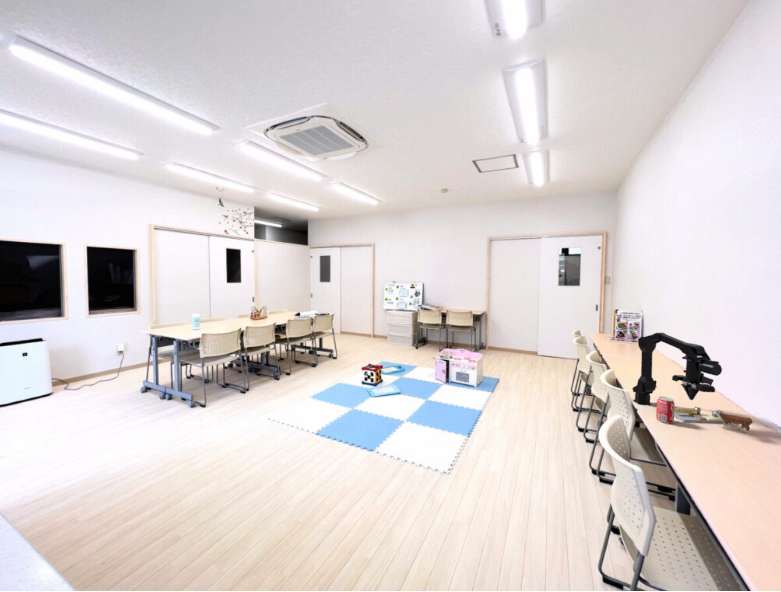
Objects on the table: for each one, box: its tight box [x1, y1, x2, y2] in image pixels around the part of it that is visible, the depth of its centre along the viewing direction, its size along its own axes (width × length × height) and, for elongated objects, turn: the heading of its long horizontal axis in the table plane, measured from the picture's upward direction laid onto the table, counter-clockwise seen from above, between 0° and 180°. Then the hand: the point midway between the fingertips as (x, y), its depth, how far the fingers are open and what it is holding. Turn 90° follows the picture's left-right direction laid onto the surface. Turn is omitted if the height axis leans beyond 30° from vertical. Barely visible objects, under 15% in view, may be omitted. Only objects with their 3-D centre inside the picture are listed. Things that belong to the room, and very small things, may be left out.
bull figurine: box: [713, 409, 753, 434], centre depth 160 cm, size 4×13×8 cm, turn 44°
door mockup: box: [674, 409, 732, 425], centre depth 172 cm, size 23×12×4 cm, turn 87°
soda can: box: [655, 396, 676, 424], centre depth 167 cm, size 7×7×12 cm
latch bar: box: [674, 406, 702, 414], centre depth 172 cm, size 12×2×3 cm, turn 87°
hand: (691, 399), depth 165 cm, fingers closed
